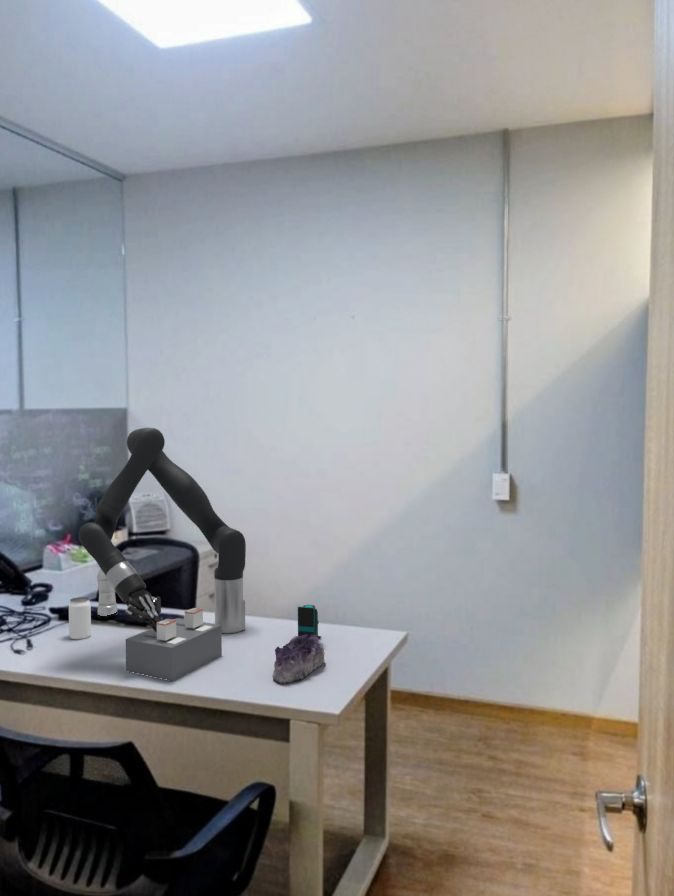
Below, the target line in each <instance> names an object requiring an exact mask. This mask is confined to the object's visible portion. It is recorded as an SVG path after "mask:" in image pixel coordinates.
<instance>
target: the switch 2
mask: <svg viewBox="0 0 674 896" xmlns="http://www.w3.org/2000/svg"><path fill="white" fill-rule="evenodd" d="M203 614H204V608H200V607H192V608H189V609H186V610H184V619H185V627H188V628H196V627H198V626H200V625H202V624H203V622H204V616H203Z"/></svg>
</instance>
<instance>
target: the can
mask: <svg viewBox="0 0 674 896" xmlns="http://www.w3.org/2000/svg"><path fill="white" fill-rule="evenodd" d="M69 601H70V602H69V604H68V633H69V634H68V636H69V639H71V640H76V641H77V640H86V639H87V638H88V639H89V638H90V637H91V636H92V635H91V634H92V617H91V616H92V612H91V610H92V609H91V602H90V598H89V597H86V596H78V597H73V598H71V599H70V600H69Z"/></svg>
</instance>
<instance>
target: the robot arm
mask: <svg viewBox="0 0 674 896" xmlns="http://www.w3.org/2000/svg"><path fill="white" fill-rule="evenodd" d="M165 442H166V441H165V437H164V434H163V433H162V432H161V431H160V430H159V429H157V428H154V427H142V428H137V429H134V430H133V431H131V432H130V433H129V434H128V436H127V438H126V445H127V449H128V451H129V453H130V456H129V458H128V461H127V462H126V464H125V466H124V467H123V468H122V469H121V471H120V472H119V473H118V475H116V477H115V478H114V479H113V480H112V481H111V483H110V484H109V486H108V487H107V489H106V490H105V492H104V494H103V495H102V497H101V499H100V500H99V503H98V505H97V506H96V509H95V513H96V518H95V521H94V522H86V523H85V524H83V525H82V526H81V527H80V529H79V531H78V540H79V543H80V544H81V545H82V547H83V548H84V549H85V550H86V551H87V553H88V554H89V555H90V556H91V557H92V558H93V560H95V563H97V565H98V567H99V568H100V569H101V570H102V571H103V573H104V574H105V575H106V577H107V579H108V581H109V583H110V584H111V586H112V587H113V589H114V590H115V594H116V595H118V597H119V598H120V600H121V601H122V602H123V603H125V604H126V606H127V608H126V609H125V611H124V612H123V614H124V615H126V616H128V617H130V618H131V619H133V620H136V621H137V622H139V623H141V624H143V623H147V624H148V625H149V626H150V627H151V629H152V628H153V630H154V631H155V632H156V633H157V624H156V623H157V622H160V621H162V620H161V619H160V617H159V615H160V614H161V613H162V601H161V600H162V599H161V596H158V595H157V596H156V597H155V596H152V594H151V593H150V592H149V591H148V590H147V585H146V583H145V581H143V579H142V577H141V576H140V574H138V572H137V570H136V569H135V568H134V567H133V566H132V565H131V563H130V562H129V561H128V560H127V559H126V556H124V554H123V553H122V551H121V550H119V548H117V547H116V546H115V545H114V544H113V542H112V538H113V536H114V534H115V531H116V528H117V524H118V520H119V518H120V517H121V515H122V513H123V512H124V509H126V506H127V504H128V502H129V500H130V499H131V497H132V495H133V494H134V492H135V489H137V486H138V485H139V484H140V481H141V480H142V479H143V477H144V476H145V475H146V473H147V471H149V473H150V474H151V475H153V478H155V480H156V481H157V482H158V484H159V485H160V486H161V487H162V489H163V490H164V491H165V493H167V495H168V496H169V497H170V498H171V500H172V501H173V502H174V504H175V505H176V506H177V507H178V508H179V510H180V511H182V513H184V515H185V516H186V517H188V518H187V519H189V520H190V521H191V522H192V523H193V524H194V525H195V526H196V527H197V528H198V529H199V531H200V532H201V534H203V536H204V538H205V539H206V541H207V542H208V544H209V546H210V547H211V548H212V550H213V551H214V552H215V553H216V554H218V562H217V563H218V564H217V567H215V569H214V571H213V577H214V578H213V580H214V584H213V585H214V624H218V625H221V633H222V634H235V633H239V632H241V631H245V630H246V601H245V600H244V571H245V568H246V552H247V551H246V547H247V546H246V539H245V535H244V534H243V533H242V532H241V531H240V530H237V529H235V528H232V527H230V526H229V525H227V524H226V523H225V522H224V521H223V520H222V519H221V517H220V516H219V515H218V514H217V513H216V512H215V509H214V508H213V506H212V504H211V501H210V500H209V498H208V495H207V493H206V492H205V490H204V489H203V488H202V487H201V486H200V484H199V483H198V482H197V480H196V479H195V478H194V477H192V476H191V475H190V474H189V473H188V472H186V471H185V470H184V469H183V468H182V467H180V466H178V465H177V464H176V463H175V462H173V461H172V460H171V459H170V458H169V457H168V455H166V454H165V452H164V451H163V449H164V447H165V444H166V443H165Z"/></svg>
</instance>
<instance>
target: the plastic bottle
mask: <svg viewBox="0 0 674 896" xmlns="http://www.w3.org/2000/svg"><path fill="white" fill-rule="evenodd" d="M96 582H97V586H98V587H97V588H98V605H97V616H98V615H100V616H107V615H111V614H114V613H116V612H117V613H118V605H117V601H116V600H117V599H116V591H115V590H114V589H113V587H112V586H111V584H110V583H109V581H108V579H107V577H106V575H105V574H104V573H103V571H102V570H101V568H100V569H99V570H98V572H97V574H96Z"/></svg>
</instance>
